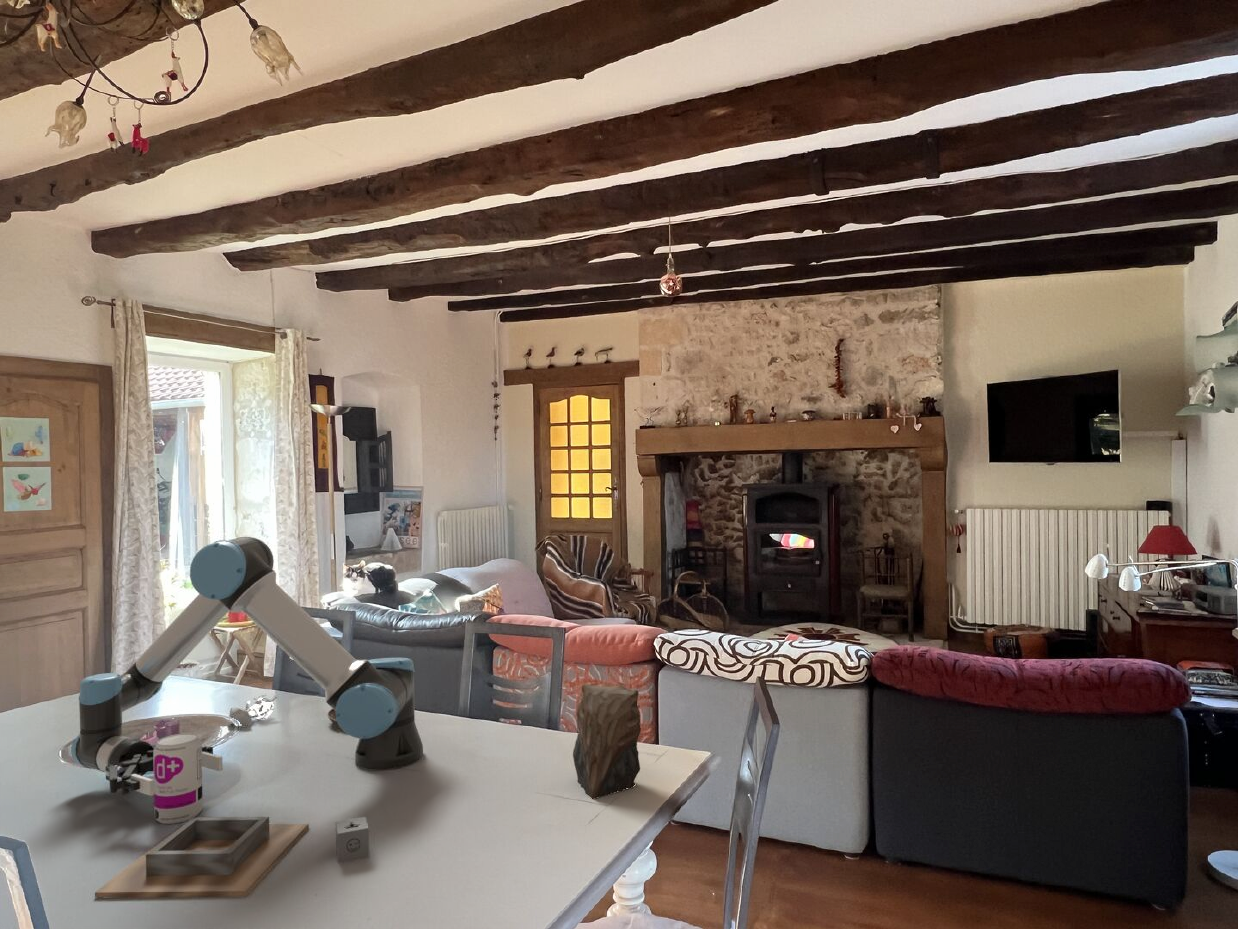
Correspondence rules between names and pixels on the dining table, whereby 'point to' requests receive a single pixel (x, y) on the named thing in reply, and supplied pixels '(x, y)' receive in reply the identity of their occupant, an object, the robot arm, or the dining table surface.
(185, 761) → the supplement can
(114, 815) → the dining table surface
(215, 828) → the collar board
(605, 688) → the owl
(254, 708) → the figurine
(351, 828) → the dice cube
